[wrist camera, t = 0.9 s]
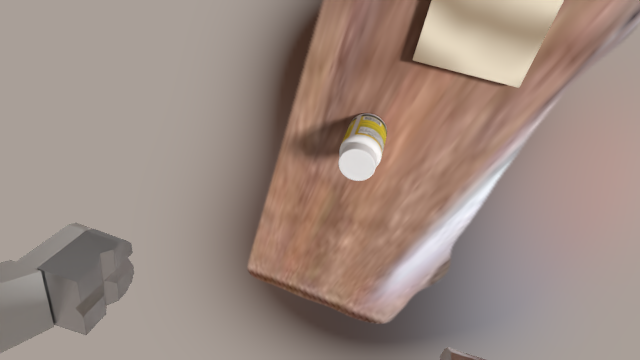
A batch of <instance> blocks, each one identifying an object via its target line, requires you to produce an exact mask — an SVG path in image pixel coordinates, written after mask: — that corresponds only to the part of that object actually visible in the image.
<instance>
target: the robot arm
mask: <svg viewBox="0 0 640 360" xmlns="http://www.w3.org/2000/svg"><path fill="white" fill-rule="evenodd" d="M131 254H132V245H131V243H130V242H128V241H126V240H123V239H120V238H117V237H115V236H112V235H109V234H107V233H104V232H101V231H98V230H95V229H92V228H89V227H87V226H84V225H81V224H78V223H73V224H69V225H67V226H66V227H64V228H63V229H62V230H60V231H59V232H57V233H56V234H54V235H53V236H52V237H51V238H49V239H47V240H46V241H45V242H43V243H42V244H40V245H39V246H37V247H36V248H35V249H33V250H32V251H30V252H29V253H28V254H26V255H25V256H23V257H22V258H20V259H19V260H18V261H16V262H15V261H12V260H9V261H5V262H1V263H0V353H2V352H4V351H6V350H8V349H10V348H12V347H14V346H16V345H18V344H20V343H22V342H24V341H26V340H28V339H30V338H32V337H34V336H36V335H38V334H40V333H42V332H44V331H46V330H48V329H50V328H52V327H54V325H57V326H60V327H63V328H66V329H69V330H72V331H75V332H78V333H81V334H84V335H87V334H88V333H89V332H90V331H91V329H93V327H94V326H95V325H96V324H97V323H98V322H99V321H100V320H101V319H102V318H103V317H104V316H105V315H106V308H107V305H109V304H111V303H114V302H116V301H119V299H120V298H121V297H122V296H123V295H124V294H125V293H126V291H127V290H128V288H129V286H130V284H131V282H132V279H133V274H134V270H133V269H134V267H133V264H132V263H131V262H130V260H129V259H128V257H129V256H130V255H131ZM440 360H486V359H483V358H480V357H477V356H473V355H470V354H467V353H464V352H461V351H458V350H455V349H452V348H449V347H447V348H446V349H444V351H443V352H442V354H441V356H440Z"/></svg>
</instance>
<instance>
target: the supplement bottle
mask: <svg viewBox="0 0 640 360" xmlns="http://www.w3.org/2000/svg"><path fill="white" fill-rule="evenodd" d="M386 136H387V128H386V125H385V123H384V122H383V120H382V119H381V118H380V117H378V116H376V115H374V114H370V113H365V114H360V115H358V116H356V117H355V118H354V119H353V120H352V121H351V123H350V125H349V127H348V129H347V132H346V134H345V137H344V139H343V141H342V144H341V146H340V150H339V155H340V158H339V168H340V171H341V172H342V173H343V175H344V176H346V177H347V178H349V179H351V180H355V181H362V180H366V179H368V178H369V177H371V176H372V174H373V173H374V171H375V168H376V167H377V166H378V164H379V163H380V161H381V158H382V153H383V149H384V145H385V140H386Z"/></svg>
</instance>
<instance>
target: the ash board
mask: <svg viewBox="0 0 640 360" xmlns="http://www.w3.org/2000/svg"><path fill="white" fill-rule="evenodd" d="M563 1H564V0H431V3H430V6H429V9H428V12H427V15H426V18H425V21H424V25H423V28H422V31H421V34H420V37H419V40H418V43H417V46H416V49H415V53H414V56H413V61H417V62H421V63H425V64H429V65H432V66H436V67H440V68H444V69H448V70H452V71H456V72H460V73H463V74H467V75H471V76H475V77H479V78H483V79H487V80H491V81H495V82H498V83H502V84H506V85H510V86H514V87H518V88H519V87H520V85H521V83H522V81H523V79H524V77H525V75H526V73H527V71H528V69H529V67H530V65H531V63H532V61H533V60H534V58H535V56H536V54H537V52H538V50H539V48H540V46H541V44H542V42H543V40H544V38H545V36H546V34H547V32H548V30H549V28H550V26H551V24H552V22H553V21H554V19H555V17H556V15H557V13H558V11H559V9H560V7H561V5H562V3H563Z"/></svg>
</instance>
